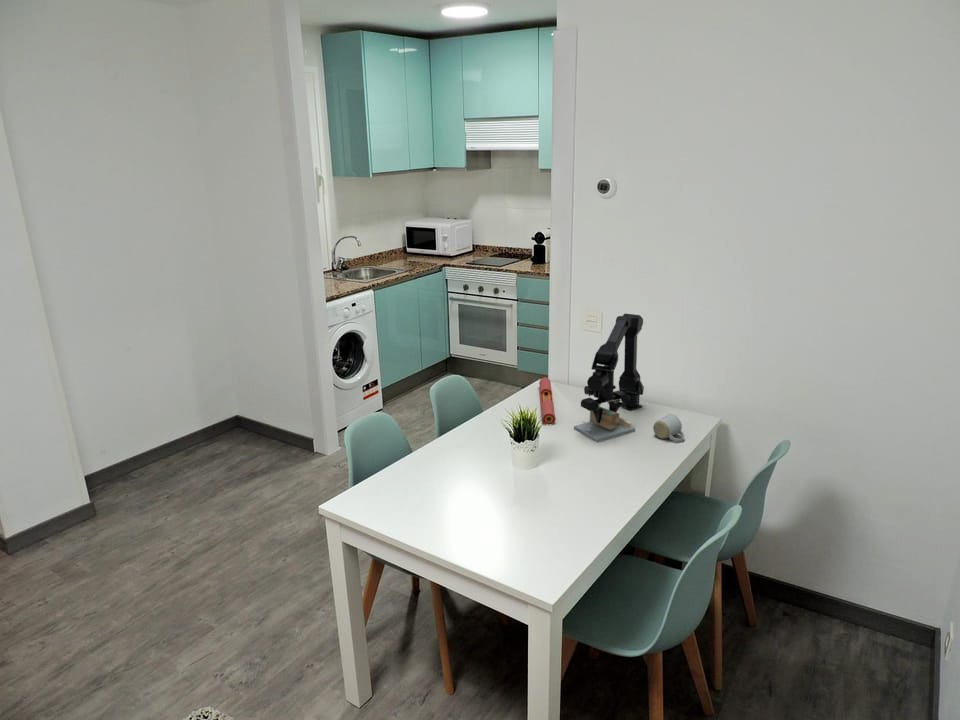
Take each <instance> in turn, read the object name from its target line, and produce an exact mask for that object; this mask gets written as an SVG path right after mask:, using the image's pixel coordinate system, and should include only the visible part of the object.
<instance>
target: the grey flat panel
mask: <svg viewBox="0 0 960 720" xmlns="http://www.w3.org/2000/svg"><path fill="white" fill-rule="evenodd" d="M573 429H574V430H575V431H577V432H578V433H580V434H582V435H583V436H585V437H587V438H589V439H590V440H592V441H594V442H596V443H599V442H603V441H605V440H609V439H613V438H616V437H620V436H624V435H628V434H631V433H634V432H636V428H635V427H634V426H632V422H630V421H628V420H626V419H624V418H622V417H620V416H619V426H618V427H615V428H613V429H611V430H610V429H607V428H605V427H602V426H599V425H597V424H594V423H592V422H590V421H588V422H585V423H581V424H577V425H574V426H573Z"/></svg>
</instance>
